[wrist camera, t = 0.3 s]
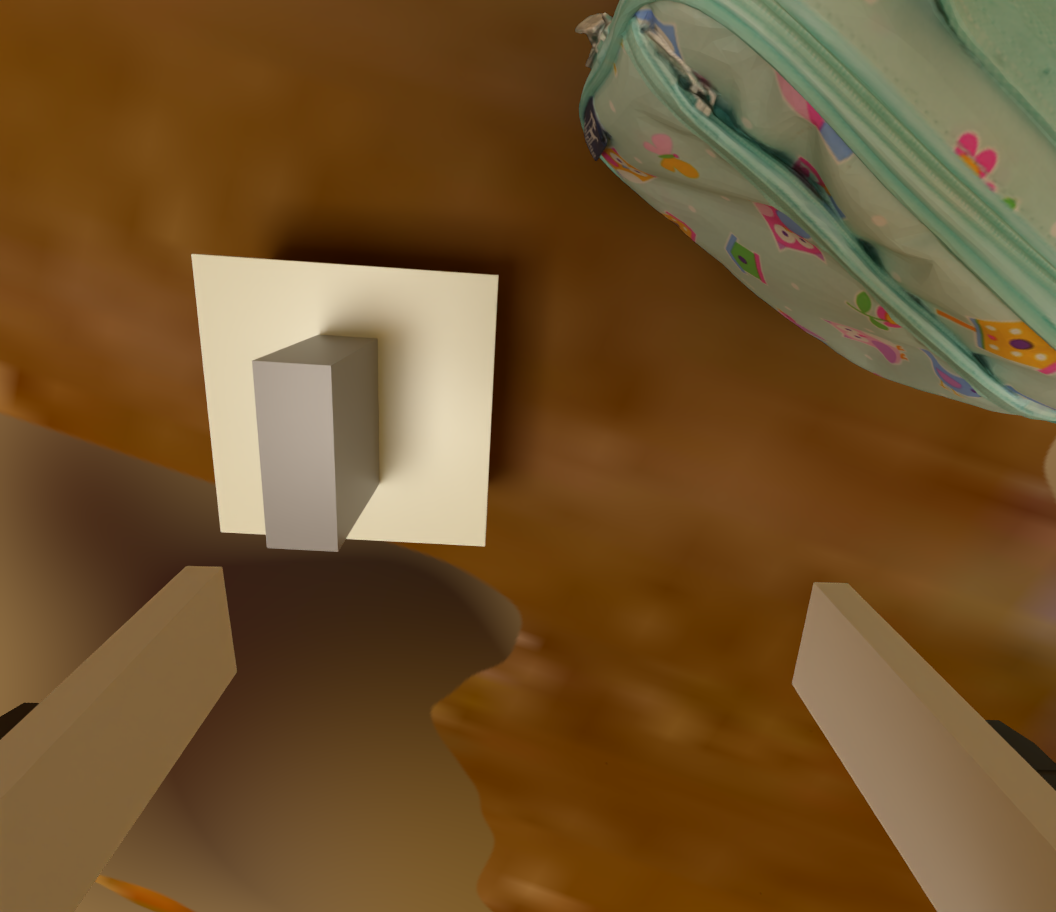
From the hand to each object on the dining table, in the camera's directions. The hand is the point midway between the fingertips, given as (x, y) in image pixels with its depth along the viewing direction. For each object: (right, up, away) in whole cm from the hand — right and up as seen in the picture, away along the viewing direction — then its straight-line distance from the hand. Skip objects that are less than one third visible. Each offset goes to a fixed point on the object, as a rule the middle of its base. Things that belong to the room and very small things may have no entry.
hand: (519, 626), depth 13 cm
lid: (-9, +7, +20) cm, 23 cm away
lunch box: (+14, +20, +23) cm, 34 cm away
